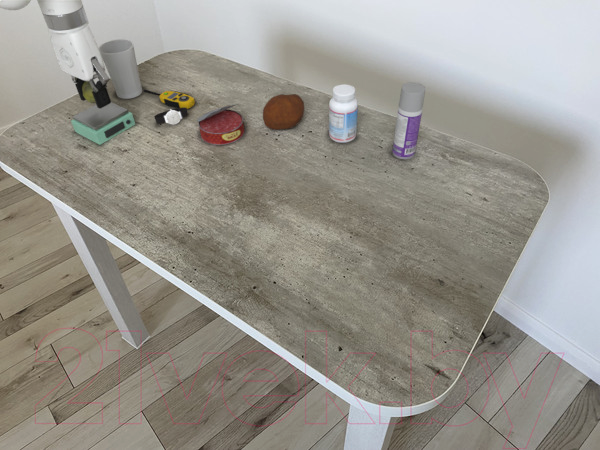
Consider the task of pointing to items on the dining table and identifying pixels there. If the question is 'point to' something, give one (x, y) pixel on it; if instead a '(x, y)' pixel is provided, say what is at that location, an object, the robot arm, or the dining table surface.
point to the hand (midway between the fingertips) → (96, 100)
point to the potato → (283, 111)
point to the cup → (122, 67)
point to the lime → (88, 92)
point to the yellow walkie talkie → (175, 99)
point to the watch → (171, 116)
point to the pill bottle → (343, 114)
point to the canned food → (221, 126)
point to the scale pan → (100, 115)
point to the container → (408, 120)
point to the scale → (105, 129)
